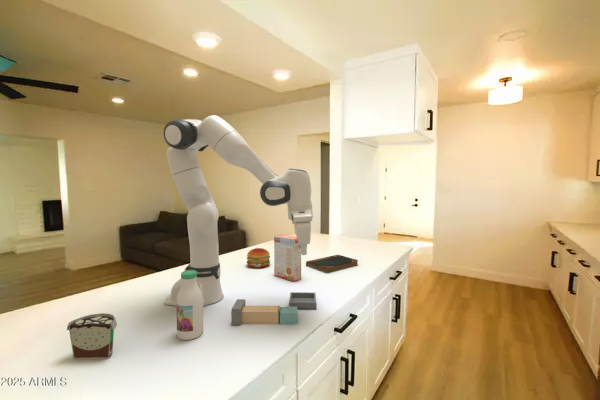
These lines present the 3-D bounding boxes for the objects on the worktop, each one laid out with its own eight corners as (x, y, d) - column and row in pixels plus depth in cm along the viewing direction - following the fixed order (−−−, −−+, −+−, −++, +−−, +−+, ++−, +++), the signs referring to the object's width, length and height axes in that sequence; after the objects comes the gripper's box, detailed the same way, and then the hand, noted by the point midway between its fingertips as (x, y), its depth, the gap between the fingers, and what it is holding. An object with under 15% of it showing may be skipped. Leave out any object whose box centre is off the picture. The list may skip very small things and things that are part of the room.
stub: (279, 324, 98) (279, 312, 98) (280, 317, 103) (280, 306, 103) (297, 324, 98) (297, 312, 98) (297, 317, 103) (297, 306, 103)
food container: (127, 345, 85) (126, 312, 85) (114, 358, 79) (113, 322, 79) (84, 346, 85) (82, 312, 84) (68, 358, 79) (66, 323, 78)
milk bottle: (194, 325, 97) (193, 266, 96) (208, 333, 92) (207, 271, 91) (172, 335, 91) (170, 272, 90) (185, 343, 86) (183, 277, 85)
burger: (244, 269, 160) (243, 251, 159) (249, 262, 173) (249, 245, 173) (268, 269, 159) (268, 251, 159) (271, 262, 173) (271, 245, 172)
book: (326, 274, 152) (358, 266, 167) (326, 268, 152) (358, 260, 167) (305, 267, 166) (337, 259, 181) (305, 260, 165) (337, 254, 181)
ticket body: (230, 325, 97) (229, 308, 97) (235, 314, 105) (235, 299, 105) (277, 325, 97) (277, 309, 97) (280, 314, 105) (280, 299, 105)
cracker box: (302, 279, 143) (302, 237, 142) (293, 282, 139) (293, 238, 137) (282, 273, 153) (282, 233, 151) (273, 275, 148) (273, 235, 147)
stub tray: (289, 309, 110) (289, 302, 110) (290, 298, 120) (290, 292, 120) (316, 309, 110) (316, 302, 109) (315, 298, 120) (315, 292, 120)
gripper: (289, 210, 115) (292, 245, 116) (293, 218, 95) (296, 259, 96) (305, 209, 116) (307, 244, 117) (312, 216, 95) (315, 258, 97)
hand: (302, 251), depth 106 cm, fingers open, 8 cm apart
